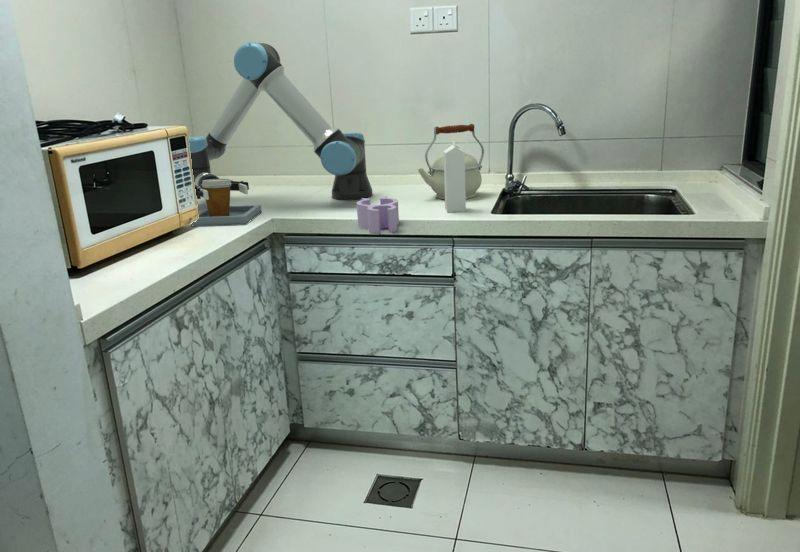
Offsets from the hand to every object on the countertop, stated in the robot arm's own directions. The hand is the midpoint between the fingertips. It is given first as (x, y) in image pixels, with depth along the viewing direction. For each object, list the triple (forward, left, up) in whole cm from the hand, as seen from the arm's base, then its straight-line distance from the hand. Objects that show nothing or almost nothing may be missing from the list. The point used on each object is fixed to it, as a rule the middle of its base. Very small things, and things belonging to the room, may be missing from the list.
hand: (227, 192), depth 211 cm
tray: (+2, -3, -9) cm, 10 cm away
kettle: (-72, -28, -10) cm, 78 cm away
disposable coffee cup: (+4, -2, -8) cm, 10 cm away
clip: (-50, +13, -10) cm, 53 cm away
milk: (-73, -5, -10) cm, 74 cm away
